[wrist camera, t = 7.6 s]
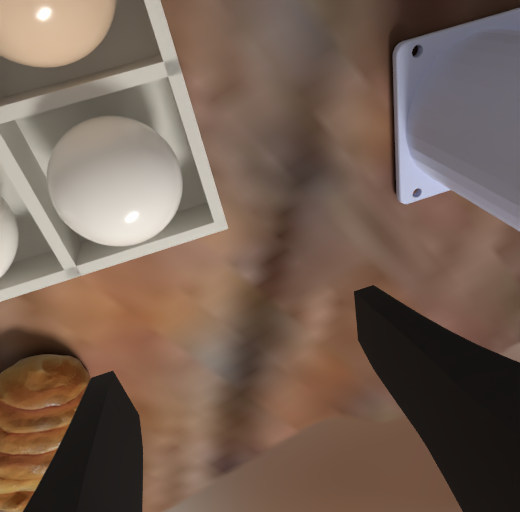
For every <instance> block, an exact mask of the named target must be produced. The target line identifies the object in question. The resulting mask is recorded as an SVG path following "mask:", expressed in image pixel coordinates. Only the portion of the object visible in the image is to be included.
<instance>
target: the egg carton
mask: <svg viewBox="0 0 520 512" xmlns="http://www.w3.org/2000/svg"><path fill="white" fill-rule="evenodd" d="M109 115H111V116H122V117H128V118H131V119H134V120H137V121H139V122H142V123H144V124H146V125H147V126H149V127H151V128H152V129H154V130H155V131H156V132H157V133H159V134H160V135H161V136H162V137H163V138H164V139H165V140H166V141H167V143H168V144H169V145H170V147H171V148H172V150H173V151H174V153H175V155H176V157H177V159H178V162H179V164H180V168H181V172H182V180H183V190H182V197H181V201H180V204H179V207H178V209H177V211H176V214H175V215H174V217H173V218H172V220H171V221H170V222H169V224H168V225H167V226H166V227H165V228H164V229H163V230H162V231H161V232H160V233H158V234H157V235H155V236H154V237H152V238H150V239H148V240H146V241H143V242H141V243H138V244H134V245H129V246H108V245H103V244H99V243H96V242H93V241H90V240H88V239H86V238H84V237H82V236H81V235H79V234H78V233H76V232H75V231H73V230H72V229H71V228H70V227H69V226H68V225H67V224H66V223H65V222H64V221H63V220H62V219H61V218H60V216H59V215H58V213H57V211H56V210H55V208H54V206H53V204H52V202H51V199H50V196H49V193H48V187H47V167H48V162H49V159H50V156H51V153H52V151H53V149H54V147H55V145H56V144H57V143H58V141H59V140H60V139H61V137H62V136H63V135H64V134H65V133H66V132H67V131H68V130H70V129H71V128H72V127H74V126H75V125H77V124H79V123H81V122H83V121H85V120H88V119H91V118H95V117H100V116H109ZM0 195H1V196H2V197H3V198H4V199H5V201H6V202H7V203H8V205H9V206H10V208H11V210H12V212H13V214H14V217H15V219H16V222H17V226H18V237H19V241H18V248H17V251H16V255H15V258H14V260H13V262H12V264H11V265H10V267H9V269H8V270H7V271H6V273H5V274H4V275H3V276H2V277H1V278H0V302H1V301H4V300H7V299H10V298H13V297H16V296H19V295H22V294H26V293H29V292H32V291H35V290H38V289H41V288H44V287H47V286H51V285H54V284H57V283H60V282H63V281H66V280H69V279H72V278H76V277H79V276H82V275H85V274H88V273H91V272H94V271H97V270H101V269H104V268H107V267H110V266H113V265H116V264H119V263H122V262H126V261H129V260H132V259H135V258H138V257H141V256H144V255H147V254H151V253H154V252H157V251H160V250H163V249H166V248H169V247H172V246H176V245H179V244H182V243H185V242H188V241H191V240H194V239H197V238H201V237H204V236H207V235H210V234H213V233H216V232H219V231H222V230H226V229H228V226H227V223H226V219H225V216H224V213H223V209H222V206H221V203H220V199H219V196H218V192H217V189H216V186H215V182H214V179H213V176H212V172H211V169H210V166H209V162H208V159H207V155H206V152H205V149H204V145H203V142H202V139H201V135H200V132H199V129H198V125H197V122H196V118H195V115H194V112H193V108H192V105H191V102H190V98H189V95H188V92H187V88H186V85H185V81H184V78H183V75H182V71H181V68H180V65H179V61H178V58H177V55H176V51H175V48H174V44H173V41H172V38H171V34H170V31H169V28H168V24H167V21H166V18H165V14H164V11H163V7H162V4H161V1H160V0H116V8H115V13H114V17H113V20H112V23H111V26H110V28H109V30H108V32H107V34H106V36H105V37H104V39H103V40H102V42H101V43H100V44H99V45H98V46H97V47H96V48H95V49H94V50H93V51H92V52H91V53H90V54H88V55H87V56H85V57H84V58H82V59H80V60H78V61H76V62H73V63H70V64H67V65H64V66H59V67H47V68H43V67H32V66H28V65H23V64H19V63H16V62H13V61H10V60H8V59H6V58H4V57H2V56H0Z"/></svg>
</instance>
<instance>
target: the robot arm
mask: <svg viewBox="0 0 520 512" xmlns="http://www.w3.org/2000/svg"><path fill="white" fill-rule="evenodd" d="M416 45H417V46H418V51H417V53H416V55H415V56H413V55H412V50H413V48H414V47H415V46H416ZM393 89H394V124H395V158H396V192H397V199H398V200H399V201H400V202H401V203H403V204H409V203H412V202H415V201H418V200H421V199H424V198H427V197H430V196H433V195H436V194H439V193H442V192H445V191H448V190H452V191H454V192H456V193H457V194H459V195H461V196H462V197H464V198H466V199H467V200H469V201H470V202H472V203H474V204H475V205H477V206H479V207H480V208H482V209H484V210H485V211H487V212H489V213H490V214H492V215H494V216H495V217H497V218H499V219H500V220H502V221H503V222H505V223H507V224H508V225H510V226H512V227H513V228H515V229H517V230H518V231H520V8H516V9H513V10H509V11H506V12H502V13H499V14H495V15H492V16H488V17H485V18H481V19H478V20H474V21H471V22H467V23H464V24H461V25H457V26H454V27H450V28H447V29H443V30H440V31H436V32H433V33H429V34H426V35H422V36H419V37H415V38H412V39H408V40H405V41H402V42H400V43H398V45H397V46H396V47H395V49H394V51H393ZM417 188H418V189H417ZM416 189H417V192H416V193H415V194H413V192H414V190H416ZM354 297H355V308H356V320H357V331H358V341H359V343H360V344H361V346H362V348H363V350H364V352H365V354H366V356H367V358H368V360H369V362H370V363H371V365H372V367H373V369H374V370H375V372H376V373H377V375H378V376H379V378H380V379H381V381H382V382H383V384H384V385H385V386H386V388H387V389H388V391H389V392H390V394H391V395H392V397H393V398H394V399H395V401H396V402H397V404H398V405H399V407H400V408H401V409H402V411H403V412H404V414H405V415H406V416H407V418H408V419H409V421H410V422H411V424H412V425H413V426H414V428H415V429H416V431H417V432H418V434H419V435H420V437H421V438H422V440H423V442H424V443H425V445H426V446H427V448H428V449H429V451H430V453H431V455H432V457H433V458H434V460H435V462H436V464H437V466H438V467H439V469H440V471H441V473H442V474H443V476H444V478H445V480H446V481H447V483H448V485H449V487H450V489H451V491H452V492H453V494H454V496H455V498H456V500H457V502H458V503H459V505H460V507H461V509H462V511H463V512H520V363H519V362H517V361H514V360H511V359H509V358H507V357H505V356H502V355H500V354H498V353H495V352H493V351H491V350H488V349H486V348H484V347H481V346H479V345H477V344H475V343H473V342H471V341H469V340H467V339H465V338H463V337H461V336H459V335H457V334H455V333H453V332H451V331H449V330H447V329H446V328H444V327H442V326H440V325H438V324H437V323H435V322H433V321H431V320H429V319H428V318H426V317H424V316H422V315H421V314H419V313H417V312H416V311H414V310H412V309H411V308H409V307H408V306H406V305H404V304H403V303H401V302H399V301H398V300H396V299H395V298H393V297H391V296H390V295H388V294H387V293H385V292H383V291H382V290H380V289H379V288H377V287H375V286H374V285H372V286H369V287H366V288H363V289H360V290H357V291H354ZM142 492H143V446H142V435H141V427H140V419H139V414H138V412H137V411H136V409H135V407H134V406H133V404H132V402H131V401H130V399H129V397H128V395H127V394H126V392H125V390H124V389H123V387H122V385H121V384H120V382H119V380H118V378H117V377H116V375H115V373H114V372H113V371H111V372H108V373H105V374H102V375H99V376H96V377H93V378H91V379H90V381H89V383H88V385H87V387H86V389H85V392H84V394H83V396H82V398H81V400H80V403H79V405H78V407H77V409H76V411H75V414H74V416H73V418H72V420H71V422H70V424H69V426H68V428H67V430H66V433H65V435H64V437H63V439H62V441H61V443H60V445H59V447H58V449H57V451H56V453H55V455H54V457H53V459H52V461H51V462H50V464H49V466H48V468H47V470H46V472H45V473H44V475H43V477H42V479H41V481H40V482H39V484H38V486H37V488H36V490H35V492H34V493H33V495H32V497H31V498H30V500H29V502H28V503H27V505H26V507H25V508H24V510H23V512H142Z"/></svg>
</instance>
